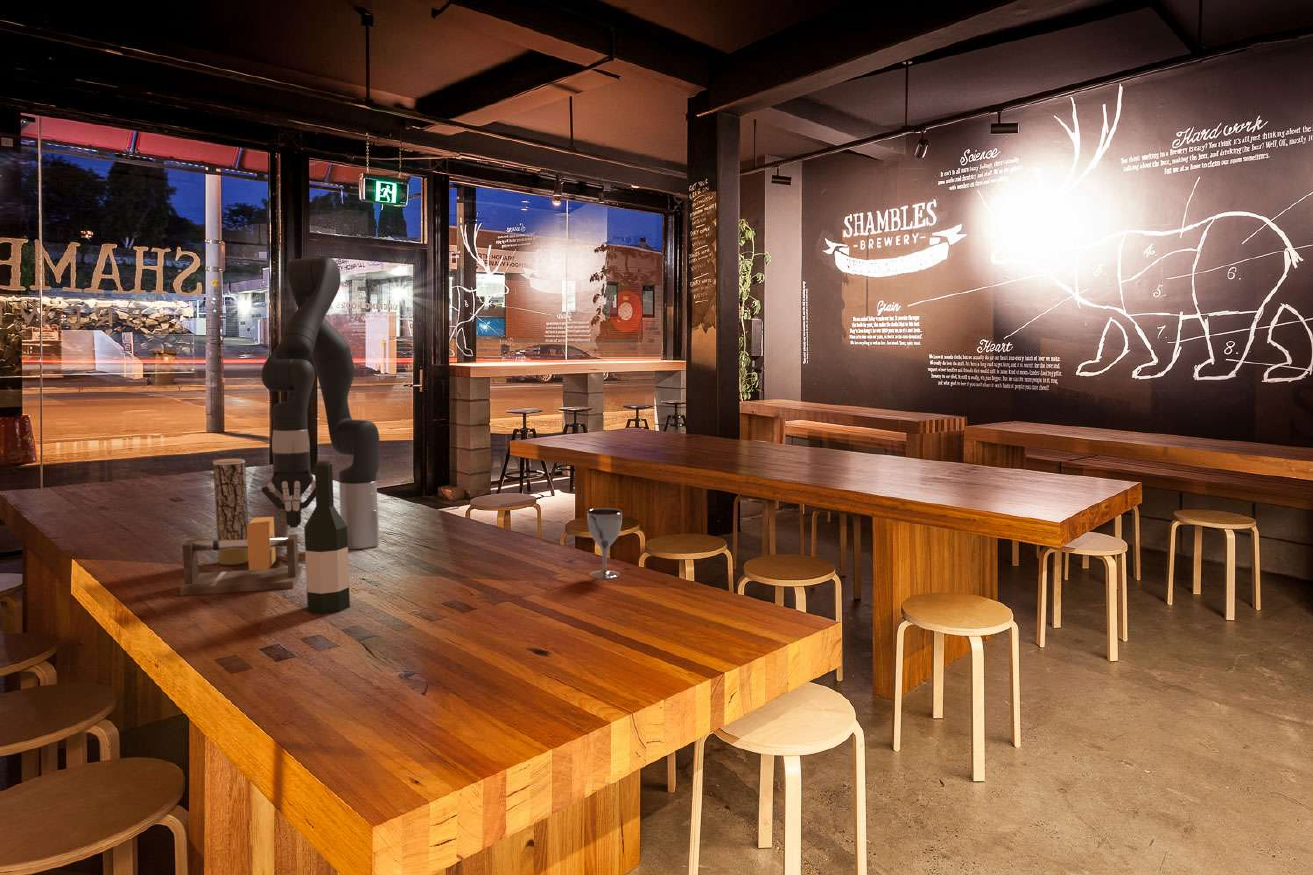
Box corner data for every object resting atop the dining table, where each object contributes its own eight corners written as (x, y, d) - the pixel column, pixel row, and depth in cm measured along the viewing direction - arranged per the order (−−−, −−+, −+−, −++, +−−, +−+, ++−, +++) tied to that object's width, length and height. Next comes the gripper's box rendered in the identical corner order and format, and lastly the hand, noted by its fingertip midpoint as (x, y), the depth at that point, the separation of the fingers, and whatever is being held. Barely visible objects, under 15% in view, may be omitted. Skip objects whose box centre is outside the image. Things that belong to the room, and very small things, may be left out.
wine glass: (626, 571, 194) (627, 509, 192) (614, 580, 186) (614, 515, 185) (595, 568, 196) (595, 506, 195) (582, 577, 189) (581, 513, 187)
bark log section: (236, 567, 196) (231, 463, 193) (212, 565, 197) (206, 462, 194) (256, 559, 202) (251, 459, 199) (232, 558, 204) (226, 458, 201)
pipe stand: (301, 573, 191) (299, 530, 189) (293, 588, 179) (291, 542, 178) (195, 579, 185) (193, 535, 184) (180, 595, 173) (177, 548, 172)
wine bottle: (314, 601, 170) (308, 457, 167) (355, 600, 171) (350, 457, 167) (300, 614, 162) (294, 463, 158) (343, 613, 162) (338, 463, 159)
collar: (275, 559, 187) (273, 516, 186) (269, 569, 179) (266, 524, 178) (256, 561, 186) (254, 517, 185) (248, 570, 178) (246, 525, 177)
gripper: (325, 447, 187) (327, 522, 189) (262, 448, 183) (265, 524, 185) (321, 451, 180) (323, 529, 182) (255, 452, 176) (258, 531, 178)
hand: (294, 526), depth 183 cm, fingers closed
